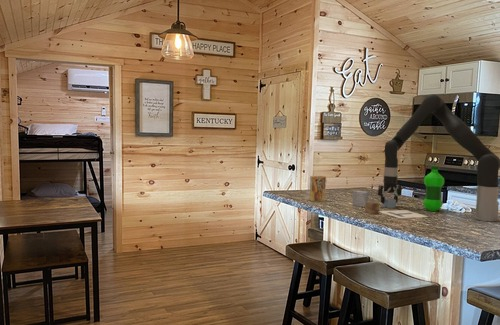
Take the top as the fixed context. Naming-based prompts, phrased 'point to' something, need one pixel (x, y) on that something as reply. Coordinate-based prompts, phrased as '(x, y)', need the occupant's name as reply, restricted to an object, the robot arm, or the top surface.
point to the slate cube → (390, 203)
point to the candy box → (317, 188)
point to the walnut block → (372, 207)
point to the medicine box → (360, 198)
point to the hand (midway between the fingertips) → (389, 203)
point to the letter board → (403, 214)
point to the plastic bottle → (433, 189)
